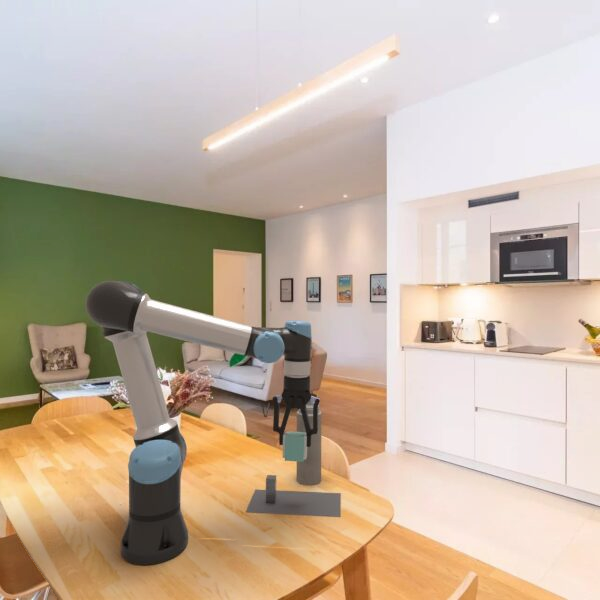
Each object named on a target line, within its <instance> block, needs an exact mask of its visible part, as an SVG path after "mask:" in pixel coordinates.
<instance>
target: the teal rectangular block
mask: <svg viewBox="0 0 600 600" xmlns="http://www.w3.org/2000/svg"><path fill="white" fill-rule="evenodd" d="M286 432H287V434H286V436H285V458H284V461H287V462H296V463H297V462H303V461H304V435H305V433H306V432H297V431H290V430H289V431H286Z"/></svg>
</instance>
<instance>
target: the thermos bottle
mask: <svg viewBox="0 0 600 600" xmlns="http://www.w3.org/2000/svg"><path fill="white" fill-rule="evenodd" d="M311 395H312V396H314V397H316V398H317V394H315V393H311ZM313 406H314V405H312V401H311V400H309V402H308V403H307V404H306V409H307V414H308V418H309V422H310V426H311V429H313ZM320 408H321V407H320V404H319V405H318V431H317V434H313V435H311V446H310V447H307V458H306V460H305V459H304V461H303V462H297V461H296V483H297V484H299V485H302V486H306V487H307V486H311V487H312V486H316V485H319V484H320V483H321V482H322V411H321V410H320ZM296 432H306V429H305V425H304V421H303V417H302V413H301V410H300V409H298V410H297V411H296Z"/></svg>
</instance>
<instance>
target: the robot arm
mask: <svg viewBox="0 0 600 600" xmlns="http://www.w3.org/2000/svg"><path fill="white" fill-rule="evenodd" d="M85 311H86V313H87V315H88V317H89V318H90V319H91V321H92V322H93V323H95V324H97V325H98V326H99V327H101V330H102V333H103V337H104V339H106V340H108V341H110V342H111V343H112V345H113V348H114V351H115V356H116V359H117V363H118V367H119V369H120V374H121V377H122V379H123V384H124V387H125V390H126V394H127V397H128V402H129V405H130V409H131V412H132V416H133V419H134V423H135V427H136V430H135V432H134V434H133V436H132V437H133V438H132V439H133V441H134V442H133V443H134V446H135V447H134V449H132V451H131V452H130V455H129V461H128V464H127V471H128V503H129V504H128V516H129V517H128V519H127V523H126V524H125V525H126V526H125V529H124V531H123V535H122V538H121V541H120V554H121V557H122V558H123V559H124V560H125V561H126V562H128V563H130V564H132V565H133V564H135V565H142V566H145V565H155V564H159V563H164V562H166V561H169V560H171V559H173V558H175V557H176V556H178V555H179V554H181V553H182V552H183V551H184V550H185V549H186V547H188V546H187V545H188V543H189V531H188V528H187V527H188V526H187V525H186V524H187V523H186V521H185V519H184V516H183V512H182V510H181V508H182V507H181V498H182V497H181V496H182V495H181V490H182V489H181V479H182V473H183V468H184V464H185V460H186V457H187V451H188V449H187V443H186V439H185V438H184V436H183V434H182V433H181V432H180V428H179V427H180V426H179V425H178V422H177V420H176V419H173V418H171V417H170V415H169V410H168V406H167V403H166V400H165V397H164V392H163V389H162V385H161V382H160V378H159V374H158V372H157V371H158V370H157V366H156V364H155V360H154V356H153V352H152V350H151V346H150V345H151V344H150V343H149V339H148V336H147V332H149V333H153V334H155V335H156V334H157V335H161V336H165V337H169V338H172V339H177V340H180V341H181V340H182V341H185V342H189V343H192V344H197V345H201V346H205V347H210V348H214V349H218V350H221V351H225V352H229V353H233V354H236V355H241V356H245V357H249V358H253V359H256V360H258V361H260V362H262V363H265V364H274V363H276V362H278V361H279V360H280V359H281V358H283V355H284V359H283V361H284V363H283V374H284V376H283V391H282V393H280V394H278V395H277V394H274V396H273V397H272V402H273V405H274V407H273V422H272V423H273V424H272V425H273V426H272V431H273V432H276V433H278V435H279V436H278V437H279V438H278V444H279V446H282V459H285V436H286V434H287V432H288V431H285V430H286V427H287V424H288V420H289V416H290V415H291V410H292V409H298V410H299V409H300V410H301V413H302V417H303V421H304V425H305V429H306V433H305V435H304V459H305V460H306V458H307V447H310V446H311V435H313V434H317V431H318V405H319V406H320V401H321V398H320V397H317V398H316V397H314V396H312V395H311V394H312V393H311V377H310V374H311V363H312V362H311V359H312V358H311V356H312V355H311V353H312V340H313V339H312V324H311V323H310V322H309V321H307V320H287V321H285V323H284V327H259V326H252V325H249V324H245V323H241V322H238V321H234V320H229V319H226V318H222V317H219V316H216V315H215V316H214V315H211V314H208V313H204V312H200V311H195V310H192V309H188V308H184V307H182V306H178V305H174V304H170V303H166V302H161V301H159V300H155V299H152V298H150V296H149V294H148V293H145V292H143V291H142V289H140V288H139V287H138V286H137V285H135V284H134V283H131V282H128V281H120V280H119V281H117V280H105V281H102V282H100V283H97V284H95V285H94V286H93V287H92V288H91V289H90V291H89V292H88V293H87V295H86V298H85ZM282 399H283V401H284V403H285V404H286V409H285V412H284V414H283V418H282V421H281V425H280V410H281V409H280V406H281V404H280V403H281V402H282ZM309 400H311V401H312V405H314V406H313V429H311V426H310V422H309V418H308V414H307V409H306V404H307V403H308V402H309ZM279 425H280V426H279Z"/></svg>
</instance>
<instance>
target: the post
mask: <svg viewBox="0 0 600 600" xmlns="http://www.w3.org/2000/svg"><path fill="white" fill-rule="evenodd" d="M265 490H266V503H274V504H275V502H276V490H277V475H275V474H267V475H266V478H265Z"/></svg>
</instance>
